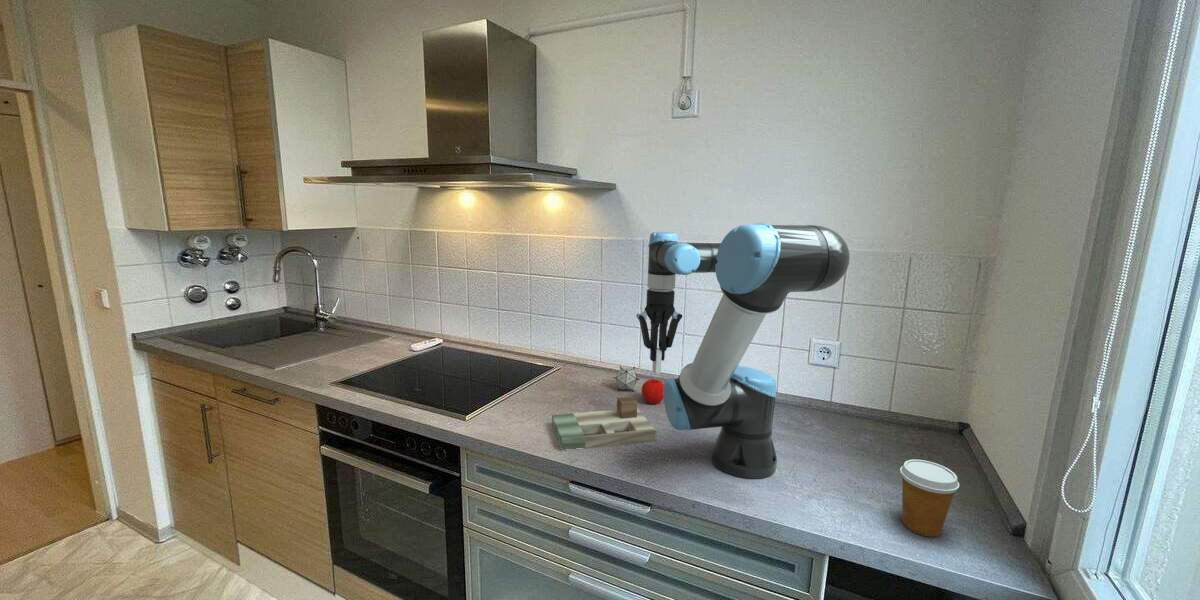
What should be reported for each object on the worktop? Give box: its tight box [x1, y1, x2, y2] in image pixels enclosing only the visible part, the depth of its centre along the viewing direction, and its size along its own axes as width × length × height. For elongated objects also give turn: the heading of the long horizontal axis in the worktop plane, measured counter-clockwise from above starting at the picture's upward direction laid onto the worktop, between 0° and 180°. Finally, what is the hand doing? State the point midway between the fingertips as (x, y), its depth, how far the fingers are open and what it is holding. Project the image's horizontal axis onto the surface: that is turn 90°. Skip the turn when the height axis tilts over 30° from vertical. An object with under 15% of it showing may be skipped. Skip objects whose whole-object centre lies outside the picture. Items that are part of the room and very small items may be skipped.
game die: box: [613, 365, 640, 393], centre depth 164 cm, size 9×8×10 cm
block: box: [616, 395, 638, 419], centre depth 137 cm, size 4×4×4 cm
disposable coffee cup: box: [899, 459, 960, 538], centre depth 95 cm, size 10×10×12 cm
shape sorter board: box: [551, 408, 657, 451], centre depth 132 cm, size 15×25×3 cm, turn 105°
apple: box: [641, 378, 664, 405], centre depth 154 cm, size 8×8×7 cm
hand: (656, 371), depth 138 cm, fingers closed
